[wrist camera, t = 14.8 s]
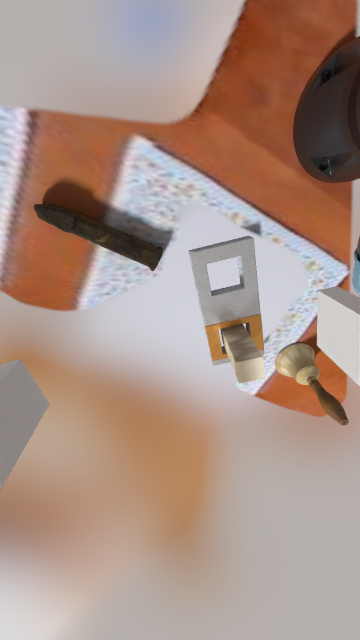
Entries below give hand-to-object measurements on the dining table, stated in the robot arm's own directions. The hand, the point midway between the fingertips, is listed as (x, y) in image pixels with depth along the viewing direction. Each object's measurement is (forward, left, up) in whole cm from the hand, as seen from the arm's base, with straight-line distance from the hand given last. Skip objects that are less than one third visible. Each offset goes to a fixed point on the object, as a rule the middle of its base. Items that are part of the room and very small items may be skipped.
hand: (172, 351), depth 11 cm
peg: (-8, +19, -32) cm, 38 cm away
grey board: (-8, +13, -32) cm, 35 cm away
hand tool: (+10, -3, -32) cm, 34 cm away
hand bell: (-20, +29, -32) cm, 48 cm away
